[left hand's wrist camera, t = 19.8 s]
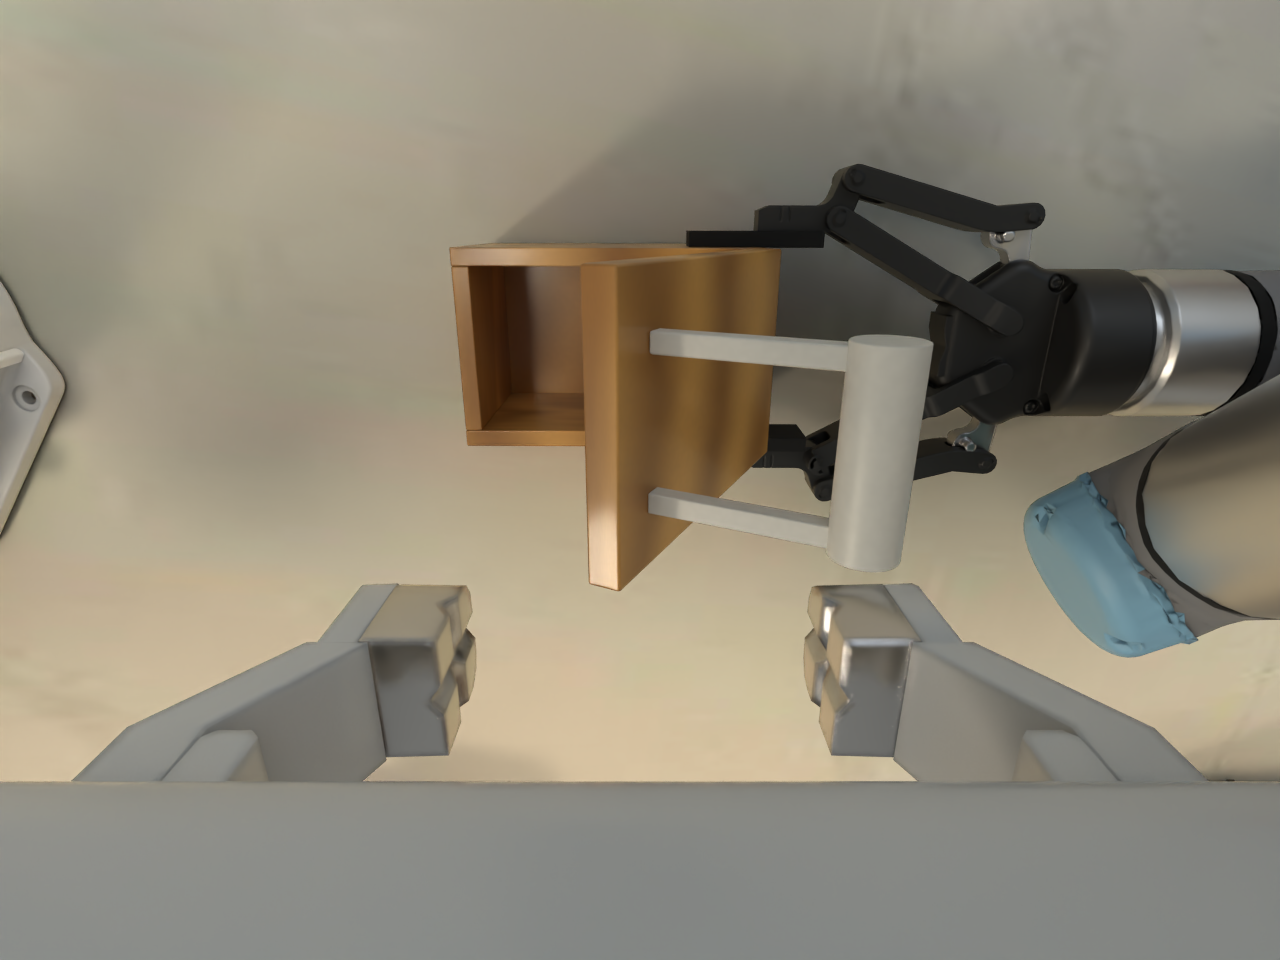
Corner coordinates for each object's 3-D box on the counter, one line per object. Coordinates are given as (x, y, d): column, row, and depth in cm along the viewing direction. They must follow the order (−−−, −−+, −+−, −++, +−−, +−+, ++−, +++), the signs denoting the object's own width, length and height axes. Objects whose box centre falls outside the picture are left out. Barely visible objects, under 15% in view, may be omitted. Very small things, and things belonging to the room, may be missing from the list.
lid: (587, 584, 21) (879, 660, 18) (578, 263, 18) (937, 273, 14) (745, 449, 34) (932, 476, 31) (757, 248, 31) (968, 251, 27)
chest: (502, 402, 43) (467, 445, 35) (491, 242, 40) (449, 247, 31) (732, 403, 43) (754, 447, 35) (740, 243, 40) (767, 247, 31)
